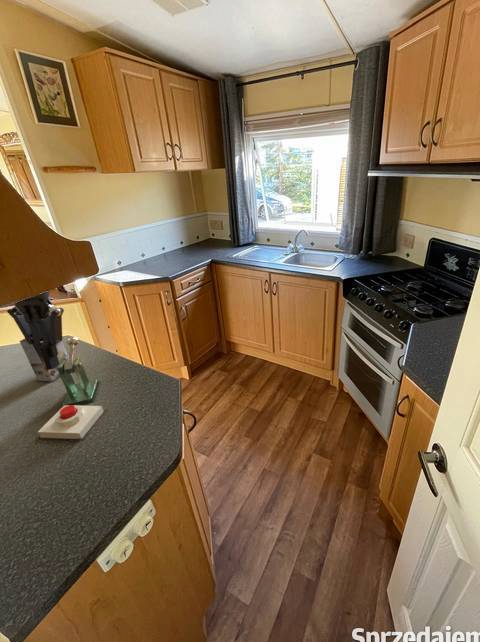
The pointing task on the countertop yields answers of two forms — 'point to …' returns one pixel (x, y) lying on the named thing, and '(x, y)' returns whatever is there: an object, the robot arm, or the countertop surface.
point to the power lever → (71, 354)
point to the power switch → (77, 391)
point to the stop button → (68, 412)
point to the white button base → (71, 423)
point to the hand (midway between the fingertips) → (53, 366)
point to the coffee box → (38, 361)
